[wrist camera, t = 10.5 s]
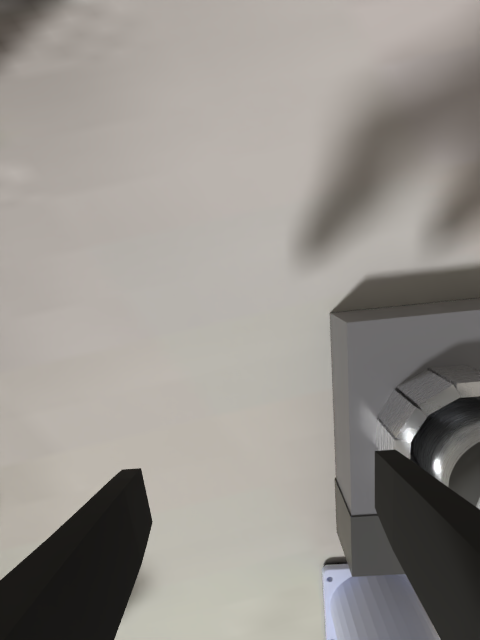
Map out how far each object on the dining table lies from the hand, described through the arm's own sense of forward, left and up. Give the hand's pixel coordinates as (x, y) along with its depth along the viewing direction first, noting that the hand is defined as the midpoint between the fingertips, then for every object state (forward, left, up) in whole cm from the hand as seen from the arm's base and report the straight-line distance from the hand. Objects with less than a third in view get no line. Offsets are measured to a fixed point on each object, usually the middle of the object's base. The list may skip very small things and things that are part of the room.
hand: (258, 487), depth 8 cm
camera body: (-6, -11, -10) cm, 16 cm away
